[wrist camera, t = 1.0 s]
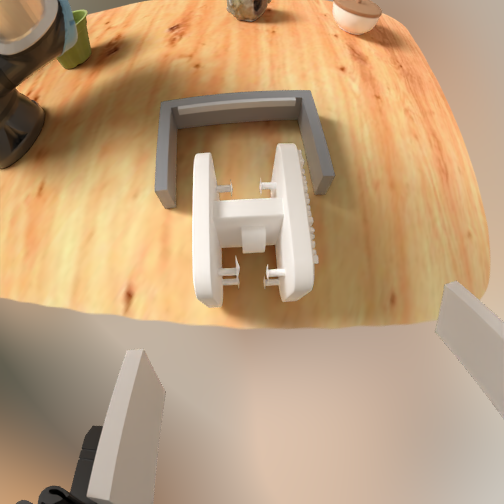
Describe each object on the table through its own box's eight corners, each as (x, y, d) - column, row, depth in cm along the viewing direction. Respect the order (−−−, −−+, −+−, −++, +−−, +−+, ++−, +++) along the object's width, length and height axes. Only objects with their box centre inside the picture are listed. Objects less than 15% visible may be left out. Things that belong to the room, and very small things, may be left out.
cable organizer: (206, 192, 38) (192, 138, 27) (287, 188, 39) (301, 134, 28) (209, 309, 34) (191, 297, 23) (299, 303, 35) (324, 289, 24)
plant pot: (96, 65, 46) (79, 26, 36) (50, 83, 46) (29, 49, 35) (105, 38, 50) (92, 3, 39) (63, 54, 49) (46, 22, 38)
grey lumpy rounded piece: (232, 29, 52) (214, -1, 43) (236, 9, 53) (220, -19, 44) (273, 22, 49) (260, -11, 40) (274, 2, 50) (262, -28, 41)
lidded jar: (354, 43, 49) (364, 10, 40) (318, 21, 51) (325, -11, 42) (381, 36, 51) (392, 7, 42) (348, 15, 53) (355, -14, 44)
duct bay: (168, 123, 41) (161, 101, 37) (305, 112, 42) (310, 90, 38) (165, 208, 38) (154, 191, 33) (325, 194, 39) (335, 175, 34)
